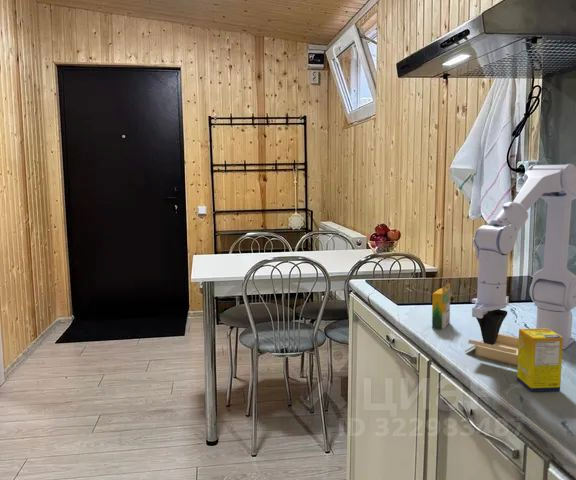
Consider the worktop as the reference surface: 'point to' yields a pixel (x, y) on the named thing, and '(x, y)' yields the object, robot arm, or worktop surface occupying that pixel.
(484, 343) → the flap
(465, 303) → the worktop surface
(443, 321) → the crayon box
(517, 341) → the carton
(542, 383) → the supplement box
